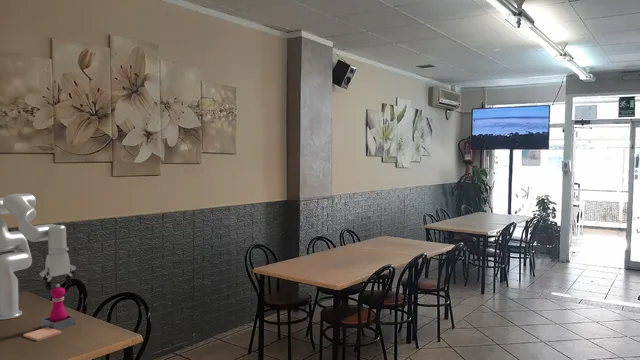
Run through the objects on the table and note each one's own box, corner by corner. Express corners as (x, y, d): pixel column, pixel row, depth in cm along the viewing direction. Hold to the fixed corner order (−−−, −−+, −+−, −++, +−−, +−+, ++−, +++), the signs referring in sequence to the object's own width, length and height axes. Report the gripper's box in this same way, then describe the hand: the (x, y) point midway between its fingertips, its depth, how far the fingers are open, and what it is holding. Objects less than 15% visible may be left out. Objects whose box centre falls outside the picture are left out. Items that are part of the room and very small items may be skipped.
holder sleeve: (40, 326, 228) (40, 319, 227) (62, 320, 237) (62, 313, 237) (54, 330, 222) (54, 323, 222) (75, 324, 232) (75, 316, 231)
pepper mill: (59, 328, 225) (59, 286, 225) (46, 327, 227) (45, 285, 226) (70, 323, 232) (70, 282, 232) (57, 322, 234) (56, 281, 233)
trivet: (23, 336, 215) (23, 334, 215) (47, 329, 224) (47, 327, 224) (37, 341, 209) (37, 338, 209) (61, 333, 219) (61, 331, 219)
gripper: (70, 248, 238) (71, 282, 238) (34, 253, 223) (35, 290, 223) (79, 249, 234) (80, 284, 234) (44, 255, 219) (45, 292, 219)
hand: (58, 287), depth 229 cm, fingers open, 9 cm apart
